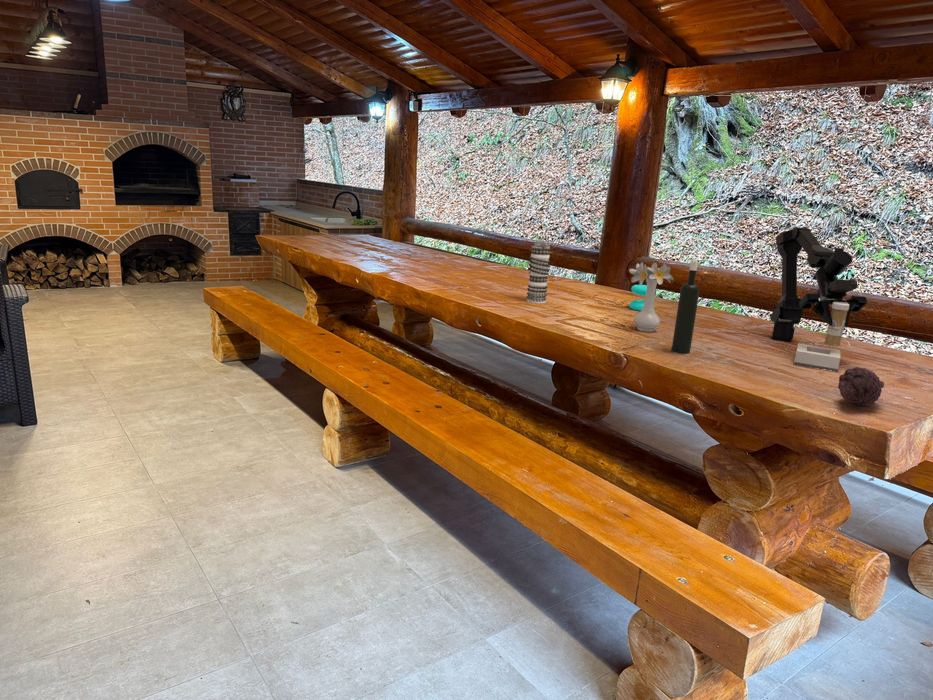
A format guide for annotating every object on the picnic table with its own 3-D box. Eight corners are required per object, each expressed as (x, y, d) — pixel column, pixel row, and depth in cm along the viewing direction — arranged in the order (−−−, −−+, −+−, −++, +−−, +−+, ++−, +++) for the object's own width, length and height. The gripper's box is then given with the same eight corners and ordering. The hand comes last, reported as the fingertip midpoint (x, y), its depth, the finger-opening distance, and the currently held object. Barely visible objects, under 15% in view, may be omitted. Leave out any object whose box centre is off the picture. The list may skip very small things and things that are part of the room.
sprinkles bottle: (821, 344, 202) (830, 302, 198) (826, 342, 205) (835, 300, 201) (837, 347, 198) (846, 304, 195) (842, 345, 202) (851, 303, 198)
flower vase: (637, 322, 248) (646, 258, 242) (675, 334, 233) (685, 265, 227) (612, 325, 241) (620, 258, 235) (649, 337, 226) (659, 266, 220)
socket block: (793, 364, 201) (796, 351, 200) (795, 356, 211) (798, 343, 210) (837, 372, 196) (840, 358, 195) (837, 363, 206) (840, 349, 205)
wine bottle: (691, 351, 211) (705, 259, 203) (687, 354, 206) (702, 261, 198) (673, 348, 213) (687, 257, 205) (669, 351, 209) (683, 259, 201)
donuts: (635, 283, 279) (658, 286, 275) (632, 305, 282) (655, 309, 277) (628, 286, 271) (652, 289, 266) (626, 309, 274) (649, 312, 269)
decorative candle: (523, 299, 282) (527, 241, 276) (543, 299, 284) (548, 242, 277) (528, 303, 274) (533, 244, 267) (549, 303, 275) (555, 245, 269)
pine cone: (863, 418, 157) (872, 379, 154) (820, 405, 164) (828, 368, 161) (887, 404, 168) (896, 368, 165) (846, 393, 175) (854, 358, 173)
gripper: (811, 267, 199) (821, 309, 192) (871, 270, 199) (884, 313, 191) (794, 287, 209) (803, 328, 201) (852, 291, 209) (863, 332, 201)
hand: (838, 325), depth 198 cm, fingers closed on sprinkles bottle, 4 cm apart
